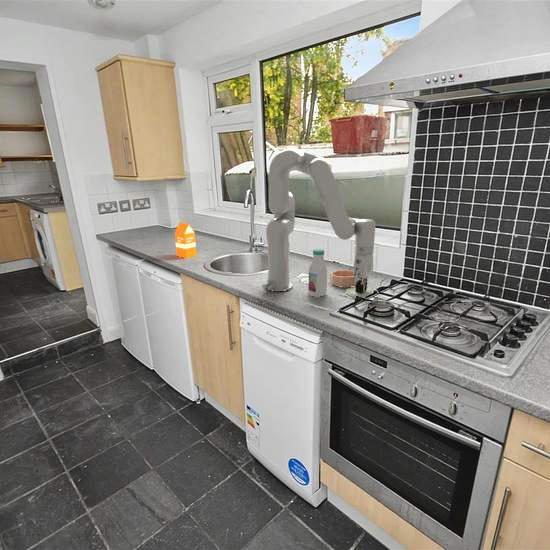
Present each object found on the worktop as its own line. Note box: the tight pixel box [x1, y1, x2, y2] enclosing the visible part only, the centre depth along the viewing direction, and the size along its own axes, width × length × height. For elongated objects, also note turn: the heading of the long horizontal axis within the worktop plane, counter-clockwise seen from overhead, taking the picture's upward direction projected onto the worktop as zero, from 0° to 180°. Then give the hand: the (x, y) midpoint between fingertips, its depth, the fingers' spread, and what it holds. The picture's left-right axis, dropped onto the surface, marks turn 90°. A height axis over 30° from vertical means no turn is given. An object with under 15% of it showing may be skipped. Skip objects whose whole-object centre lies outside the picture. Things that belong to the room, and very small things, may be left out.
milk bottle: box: [307, 248, 328, 298], centre depth 151 cm, size 8×8×20 cm
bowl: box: [329, 269, 356, 288], centre depth 166 cm, size 12×12×5 cm
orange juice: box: [174, 222, 197, 259], centre depth 213 cm, size 8×9×20 cm
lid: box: [345, 279, 375, 298], centre depth 153 cm, size 13×13×6 cm
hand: (361, 291), depth 153 cm, fingers closed on lid, 3 cm apart
